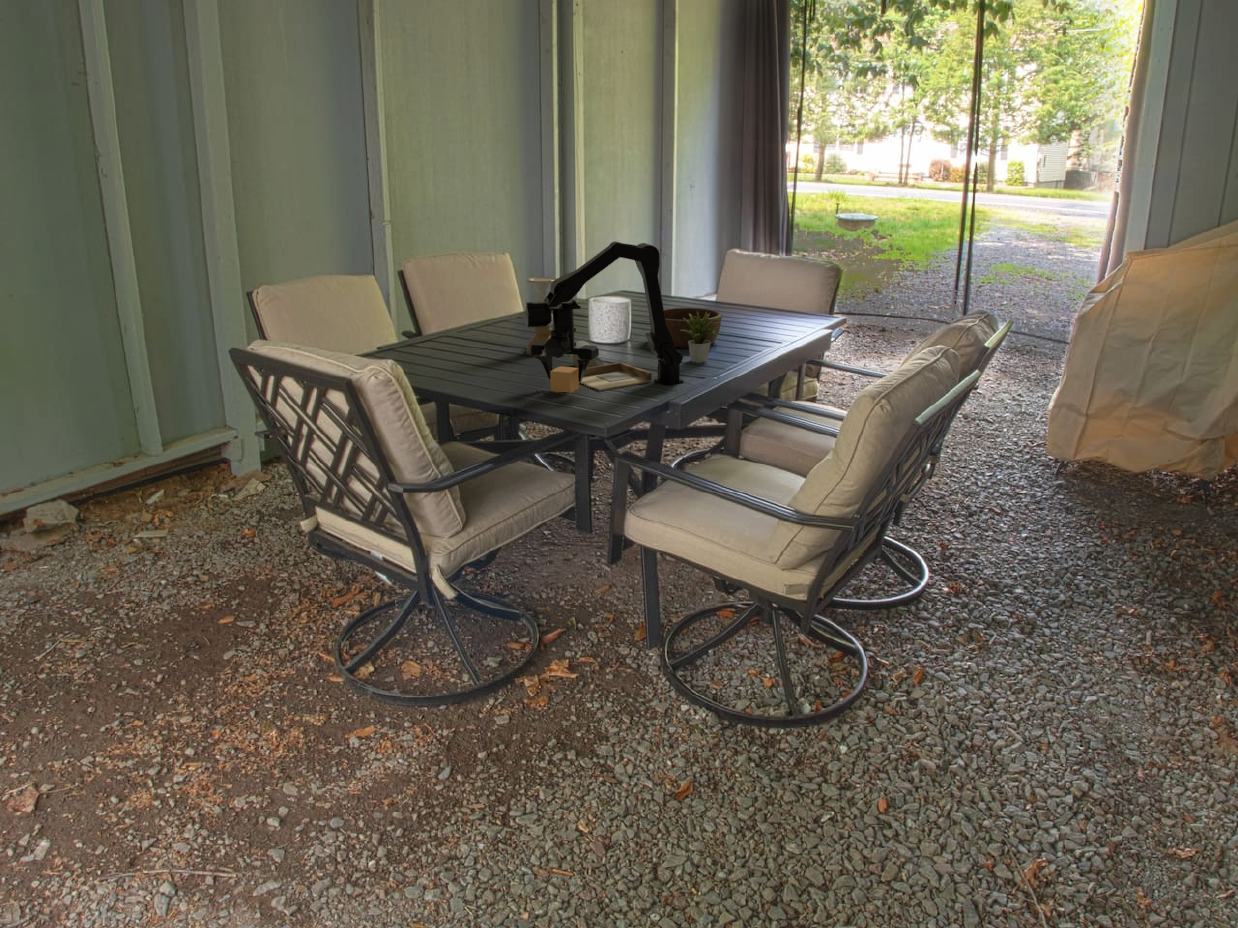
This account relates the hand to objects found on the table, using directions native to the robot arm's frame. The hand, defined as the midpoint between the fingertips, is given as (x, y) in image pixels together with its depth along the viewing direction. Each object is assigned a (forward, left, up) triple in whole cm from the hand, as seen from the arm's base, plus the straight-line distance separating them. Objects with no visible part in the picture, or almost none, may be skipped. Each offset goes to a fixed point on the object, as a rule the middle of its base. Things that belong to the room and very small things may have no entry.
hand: (565, 380), depth 245 cm
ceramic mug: (+20, -19, -3) cm, 28 cm away
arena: (+1, -16, -3) cm, 16 cm away
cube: (0, 0, -3) cm, 3 cm away
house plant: (+4, -52, -3) cm, 52 cm away
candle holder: (+48, -20, -3) cm, 52 cm away
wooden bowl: (+30, -66, -3) cm, 72 cm away
